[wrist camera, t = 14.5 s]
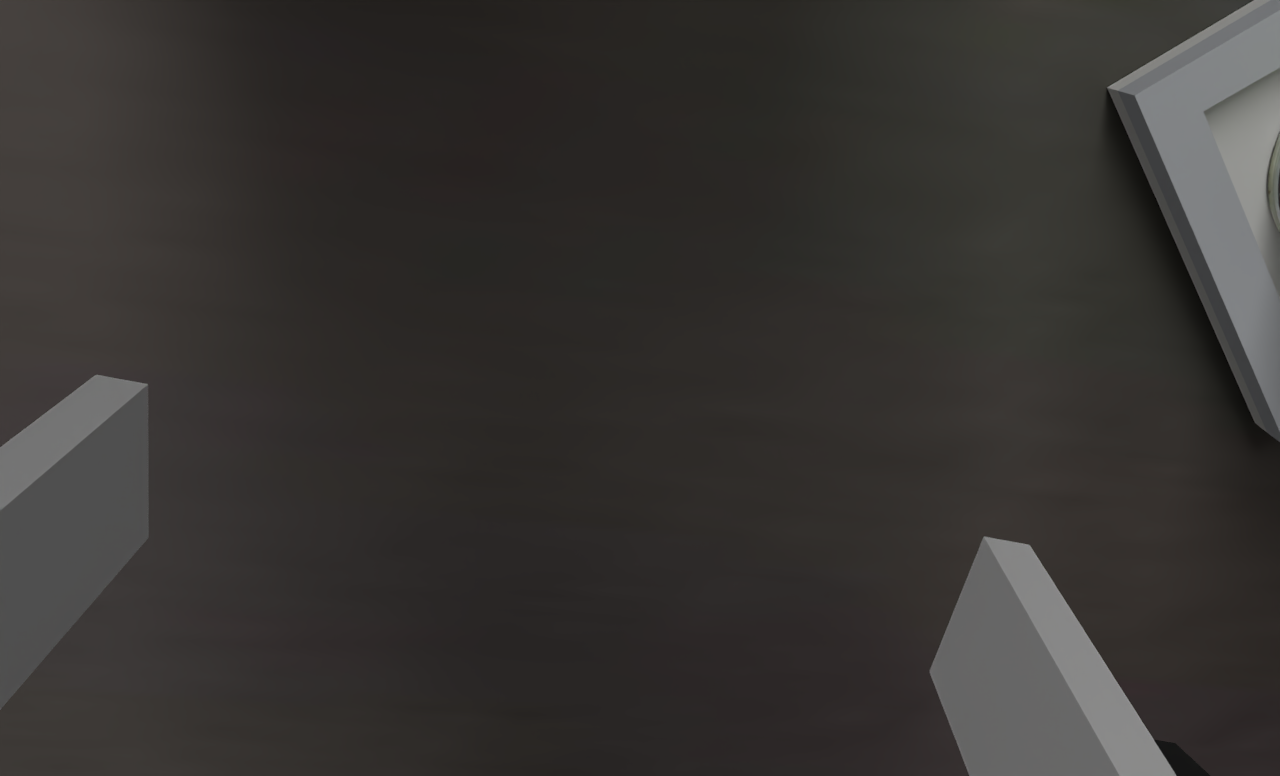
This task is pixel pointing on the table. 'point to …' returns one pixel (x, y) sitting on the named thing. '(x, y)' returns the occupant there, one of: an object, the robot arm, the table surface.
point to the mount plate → (1220, 182)
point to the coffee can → (1275, 184)
